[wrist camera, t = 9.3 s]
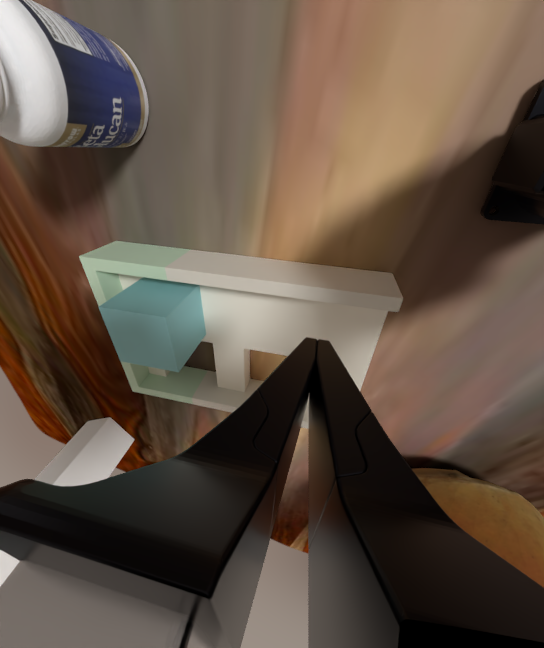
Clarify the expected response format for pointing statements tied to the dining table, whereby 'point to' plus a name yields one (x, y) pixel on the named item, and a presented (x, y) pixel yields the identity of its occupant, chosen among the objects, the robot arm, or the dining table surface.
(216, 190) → the dining table surface
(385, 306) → the box
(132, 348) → the block
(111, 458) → the milk
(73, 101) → the pill bottle
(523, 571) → the ceramic pitcher
